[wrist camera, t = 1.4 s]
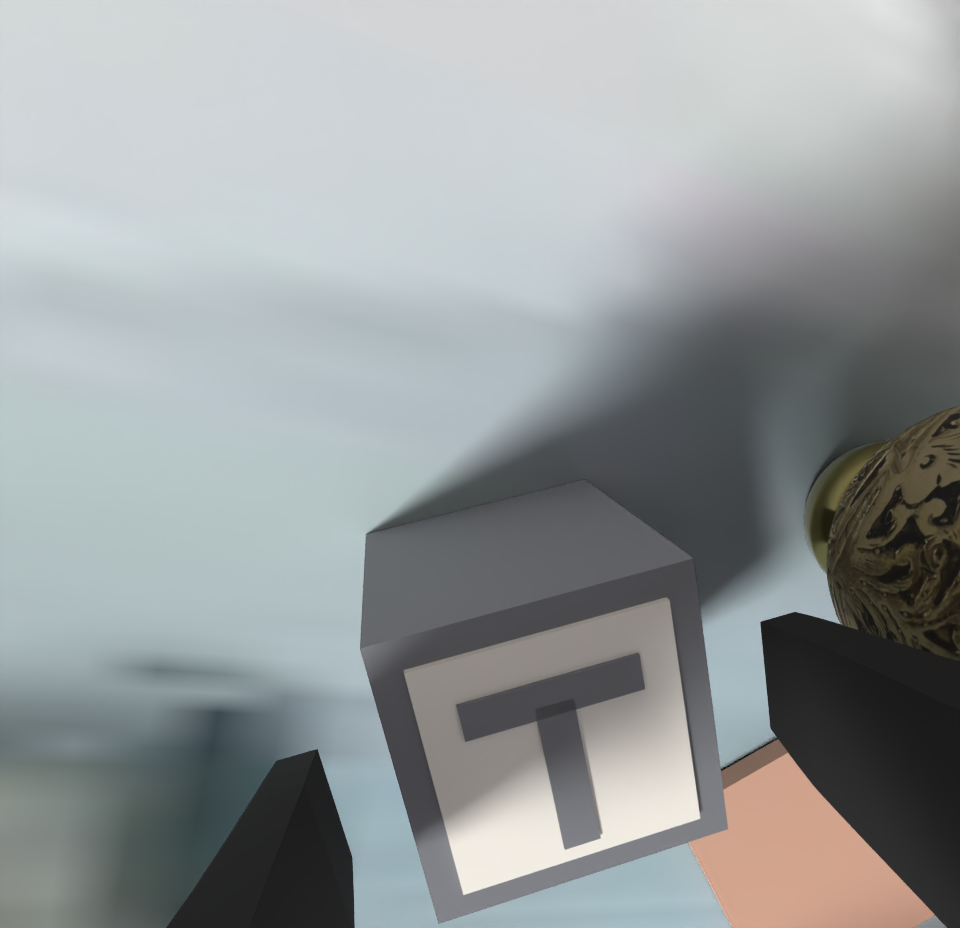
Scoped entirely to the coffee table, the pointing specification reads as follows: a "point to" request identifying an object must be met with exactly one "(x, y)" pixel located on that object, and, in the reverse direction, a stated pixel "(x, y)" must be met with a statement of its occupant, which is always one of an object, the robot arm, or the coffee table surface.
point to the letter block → (540, 692)
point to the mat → (796, 856)
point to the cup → (894, 535)
